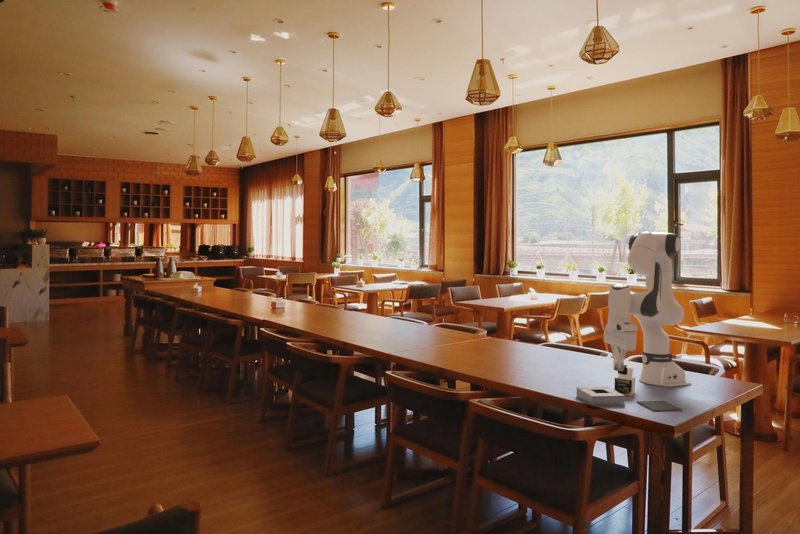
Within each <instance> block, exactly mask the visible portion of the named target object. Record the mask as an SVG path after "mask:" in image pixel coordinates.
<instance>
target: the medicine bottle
mask: <svg viewBox="0 0 800 534" xmlns="http://www.w3.org/2000/svg"><path fill="white" fill-rule="evenodd" d="M633 369H634V368H633V366H631V365H627V364H624V371H617V375H616V376H615V377H614V387H613V388H614V389H613V390H615V391H617V392H619V393H621V394H623V395H625V396H629V397H630V396H632V395H633V394H635V391H636V390H635V389H636V376H634V375H633Z"/></svg>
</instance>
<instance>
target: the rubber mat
mask: <svg viewBox="0 0 800 534" xmlns="http://www.w3.org/2000/svg"><path fill="white" fill-rule="evenodd" d="M636 403H637V404H638V405H641V406H642V407H644V408H646V409H648V410H650V411H651V412H678V411H677V410H682V411H683V408H680V407H679V406H677V405H674V404H672V403H671V402H668V401H666V400H639V401H638V400H637V401H636ZM670 410H671V411H670ZM674 410H675V411H674Z"/></svg>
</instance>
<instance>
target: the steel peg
mask: <svg viewBox="0 0 800 534" xmlns="http://www.w3.org/2000/svg"><path fill="white" fill-rule="evenodd" d="M620 353H621V351H620V348H619V347H616V346H614V355H613V354H612V356H613V357H612V358H613V363H612V365H613V366H612V367H613V368H612V369H613V370H614V371H616V372H618V371H624V365H625V359H620V358H619V354H620Z"/></svg>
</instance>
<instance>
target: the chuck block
mask: <svg viewBox="0 0 800 534" xmlns="http://www.w3.org/2000/svg"><path fill="white" fill-rule="evenodd" d="M576 398H578V399H579V400H581V401H583V402H584V403H586V404H588V405H589V406H591V407H605V406H607V407H612V406H613V407H614V405H618V406H625V404H626V403H625V401H626V400H625V399H626V395H623V394H621V393H619V392H617V391H615V390H614V389H613V388H611V387H609V386H583V387H582V386H579V387H576ZM610 405H611V406H610Z"/></svg>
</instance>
